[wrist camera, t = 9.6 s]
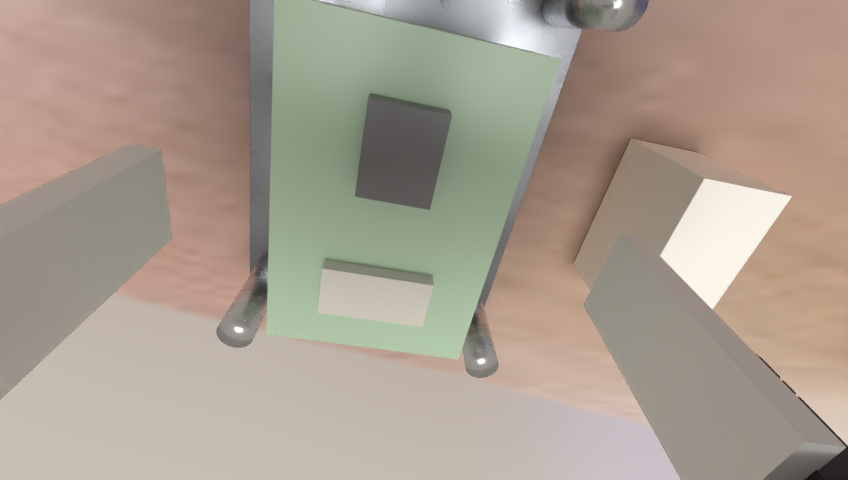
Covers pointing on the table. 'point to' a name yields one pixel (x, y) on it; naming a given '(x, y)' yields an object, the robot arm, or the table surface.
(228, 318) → the chassis
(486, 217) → the board
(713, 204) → the block
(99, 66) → the table surface
